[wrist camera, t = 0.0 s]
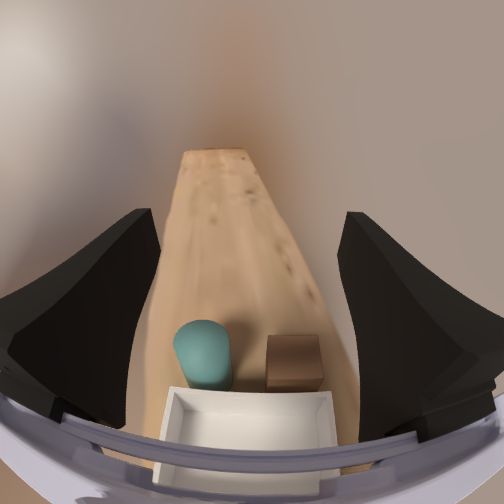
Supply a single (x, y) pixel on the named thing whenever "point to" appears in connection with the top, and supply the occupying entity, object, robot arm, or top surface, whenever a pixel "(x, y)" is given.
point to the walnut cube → (293, 364)
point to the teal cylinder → (204, 355)
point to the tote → (247, 436)
